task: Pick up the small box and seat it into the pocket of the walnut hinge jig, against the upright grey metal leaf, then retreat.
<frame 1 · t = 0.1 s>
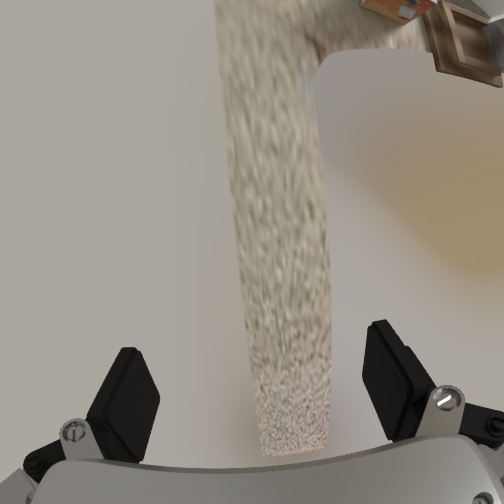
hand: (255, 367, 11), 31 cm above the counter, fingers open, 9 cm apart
small box: (383, 5, 29), on the counter
hinge jig: (462, 42, 30), on the counter
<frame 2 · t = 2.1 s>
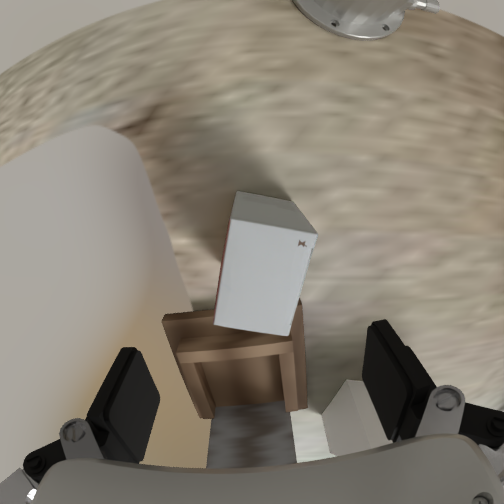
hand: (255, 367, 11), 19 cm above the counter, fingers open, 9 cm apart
small box: (257, 234, 29), on the counter
hinge jig: (242, 365, 34), on the counter
corner bracket: (368, 392, 37), on the counter
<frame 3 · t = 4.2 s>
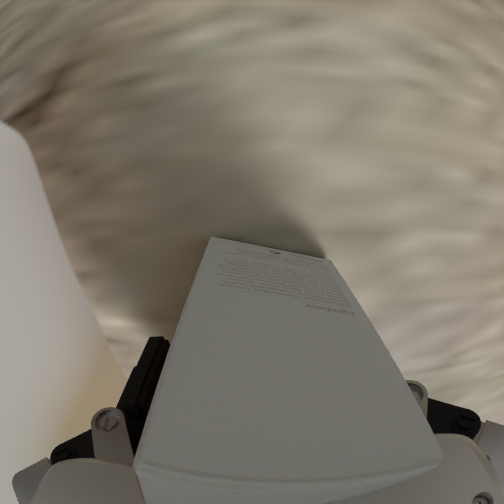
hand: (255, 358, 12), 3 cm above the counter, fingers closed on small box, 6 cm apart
small box: (254, 319, 14), on the counter, touching gripper
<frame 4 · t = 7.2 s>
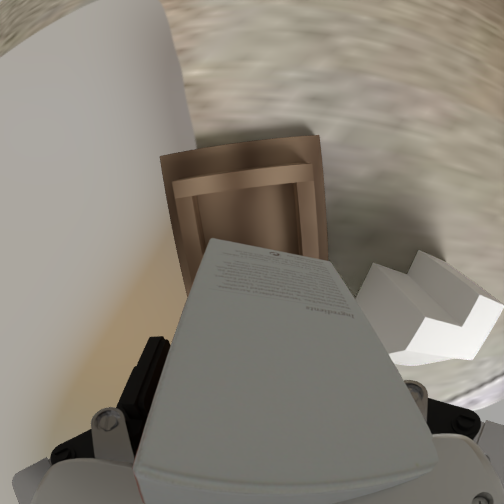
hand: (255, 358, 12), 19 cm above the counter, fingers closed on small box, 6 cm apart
small box: (254, 320, 14), point 16 cm above the counter, touching gripper
hinge jig: (250, 227, 30), on the counter
corner bracket: (397, 290, 33), on the counter
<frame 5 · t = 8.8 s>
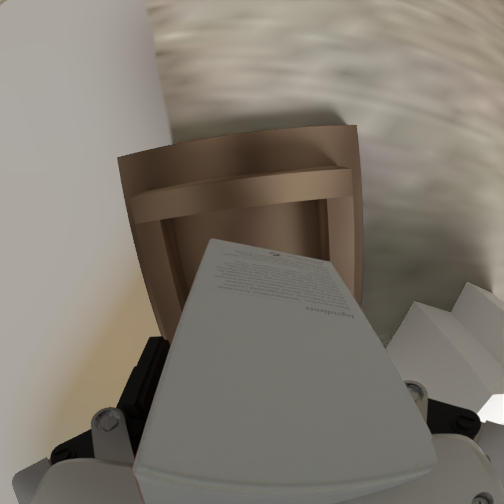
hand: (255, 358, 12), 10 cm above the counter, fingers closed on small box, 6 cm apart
small box: (254, 320, 14), point 7 cm above the counter, touching gripper
hinge jig: (251, 260, 20), on the counter
corner bracket: (437, 331, 24), on the counter
when the fingers open (6 cm above the counter, at t = 10.1 s): small box drops 2 cm, resting on hinge jig.
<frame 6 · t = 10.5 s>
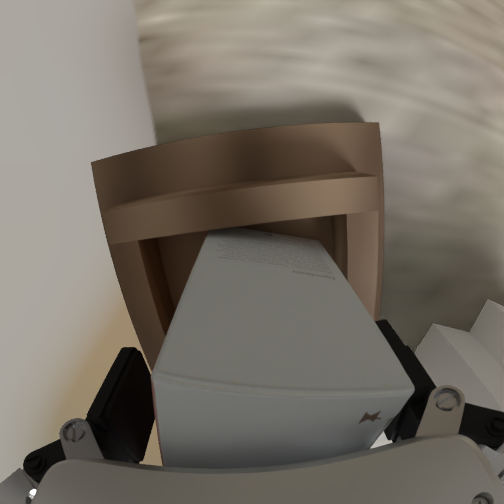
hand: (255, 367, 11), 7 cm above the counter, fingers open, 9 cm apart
small box: (254, 298, 16), point 1 cm above the counter, touching hinge jig
hinge jig: (252, 282, 17), on the counter
corner bracket: (454, 352, 20), on the counter
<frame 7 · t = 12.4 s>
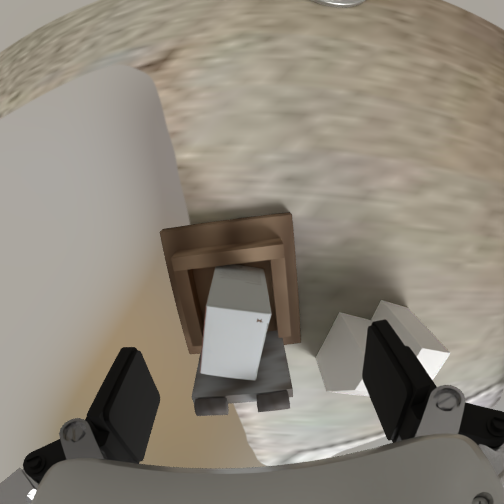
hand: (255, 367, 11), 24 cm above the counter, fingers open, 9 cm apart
small box: (235, 294, 35), point 1 cm above the counter, touching hinge jig
hinge jig: (235, 287, 36), on the counter
corner bracket: (362, 332, 39), on the counter
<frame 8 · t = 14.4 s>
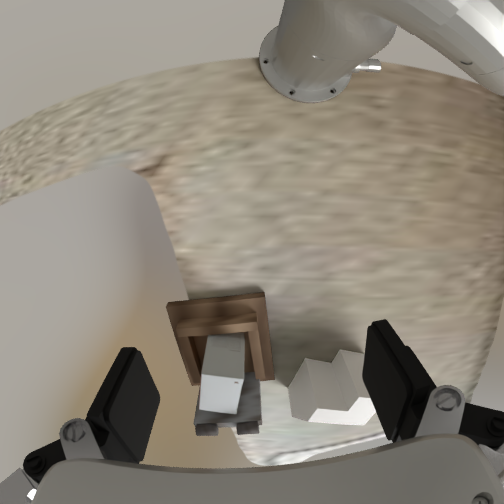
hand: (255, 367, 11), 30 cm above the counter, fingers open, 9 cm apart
small box: (224, 348, 46), point 1 cm above the counter, touching hinge jig
hinge jig: (224, 342, 47), on the counter
corner bracket: (325, 371, 50), on the counter
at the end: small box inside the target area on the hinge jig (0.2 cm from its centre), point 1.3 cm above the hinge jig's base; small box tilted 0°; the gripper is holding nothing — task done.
